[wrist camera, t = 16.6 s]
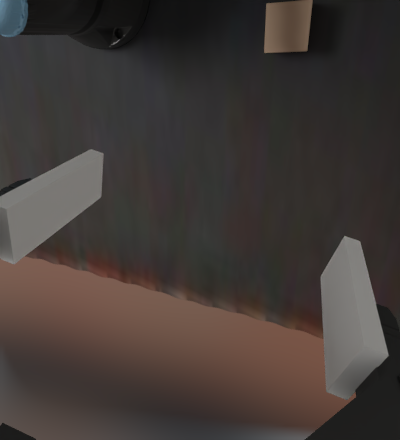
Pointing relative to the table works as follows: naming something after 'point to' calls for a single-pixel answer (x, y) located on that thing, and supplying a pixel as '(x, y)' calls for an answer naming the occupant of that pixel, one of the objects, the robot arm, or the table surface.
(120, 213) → the table surface
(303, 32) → the walnut block
